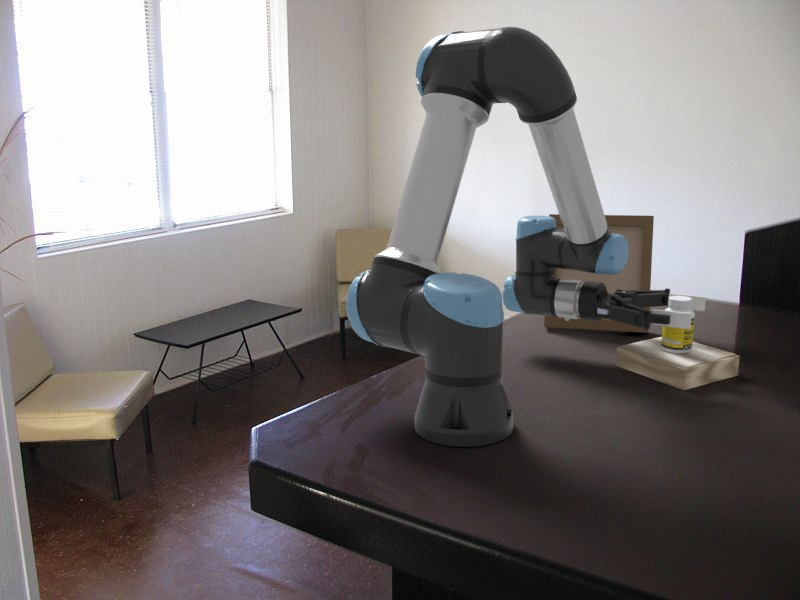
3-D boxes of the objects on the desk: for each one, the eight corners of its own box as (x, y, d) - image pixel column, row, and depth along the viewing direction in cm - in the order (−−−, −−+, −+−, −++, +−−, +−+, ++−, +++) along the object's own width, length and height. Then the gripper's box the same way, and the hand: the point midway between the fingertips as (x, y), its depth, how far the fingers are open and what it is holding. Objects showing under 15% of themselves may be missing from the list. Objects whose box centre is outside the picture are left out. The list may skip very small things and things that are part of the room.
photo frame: (648, 337, 168) (653, 219, 162) (544, 331, 174) (546, 217, 169) (648, 320, 182) (653, 210, 176) (551, 315, 188) (554, 209, 182)
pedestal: (684, 390, 137) (685, 368, 136) (616, 365, 150) (617, 345, 149) (737, 375, 144) (739, 354, 143) (668, 353, 157) (669, 333, 156)
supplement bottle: (686, 356, 142) (690, 302, 140) (656, 351, 146) (659, 298, 143) (696, 348, 146) (700, 296, 144) (666, 343, 150) (670, 293, 147)
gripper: (600, 305, 164) (708, 316, 154) (560, 335, 144) (682, 350, 133) (601, 269, 163) (711, 278, 152) (561, 294, 142) (685, 307, 131)
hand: (698, 312), depth 143 cm, fingers open, 13 cm apart
